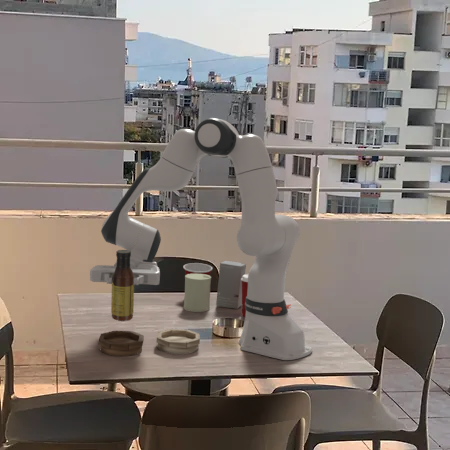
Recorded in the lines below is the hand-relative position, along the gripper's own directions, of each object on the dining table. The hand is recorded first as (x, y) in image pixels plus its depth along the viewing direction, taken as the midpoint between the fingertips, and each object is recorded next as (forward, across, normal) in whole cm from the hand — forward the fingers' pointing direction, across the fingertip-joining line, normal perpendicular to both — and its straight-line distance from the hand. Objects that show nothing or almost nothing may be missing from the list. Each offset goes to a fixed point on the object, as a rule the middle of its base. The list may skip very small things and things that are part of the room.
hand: (122, 281), depth 205 cm
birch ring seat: (-4, +16, +20) cm, 26 cm away
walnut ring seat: (-1, 0, +20) cm, 20 cm away
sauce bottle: (-1, 0, +11) cm, 11 cm away
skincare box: (-52, +33, +20) cm, 65 cm away
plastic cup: (-61, +21, +21) cm, 68 cm away
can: (-47, +21, +21) cm, 56 cm away
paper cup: (-40, +40, +20) cm, 60 cm away
